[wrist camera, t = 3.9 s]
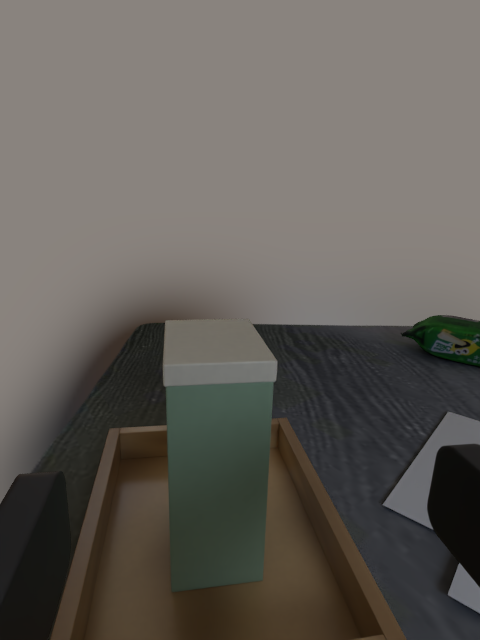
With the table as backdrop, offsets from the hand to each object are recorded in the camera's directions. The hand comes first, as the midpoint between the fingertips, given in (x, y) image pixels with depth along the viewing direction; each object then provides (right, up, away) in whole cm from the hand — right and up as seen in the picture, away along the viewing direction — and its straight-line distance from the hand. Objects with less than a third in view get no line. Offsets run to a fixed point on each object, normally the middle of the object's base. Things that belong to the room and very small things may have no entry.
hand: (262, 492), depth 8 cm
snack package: (+29, -2, +44) cm, 53 cm away
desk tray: (-2, -9, +14) cm, 17 cm away
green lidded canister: (-2, -9, +14) cm, 17 cm away
